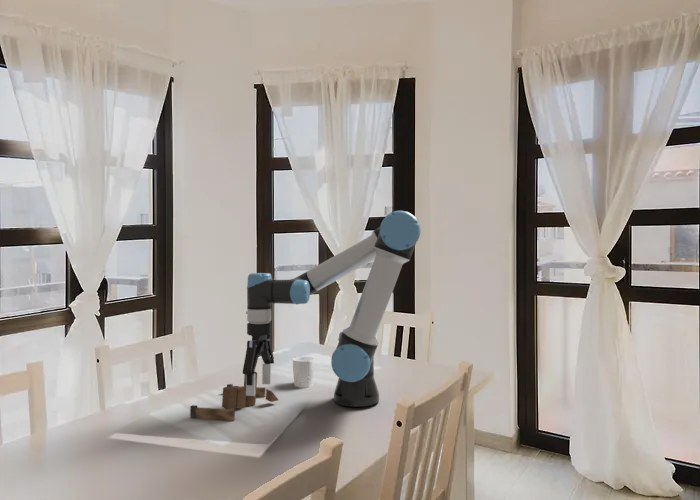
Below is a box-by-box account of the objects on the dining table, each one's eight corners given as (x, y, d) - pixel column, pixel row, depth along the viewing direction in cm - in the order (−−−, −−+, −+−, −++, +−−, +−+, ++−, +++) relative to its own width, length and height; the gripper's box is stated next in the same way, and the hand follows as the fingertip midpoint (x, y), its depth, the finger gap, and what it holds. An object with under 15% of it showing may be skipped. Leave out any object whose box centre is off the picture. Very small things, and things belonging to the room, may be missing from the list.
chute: (265, 396, 176) (265, 385, 176) (233, 421, 150) (233, 409, 150) (228, 394, 179) (228, 384, 179) (190, 418, 153) (190, 406, 153)
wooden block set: (229, 417, 154) (231, 383, 154) (214, 408, 160) (216, 376, 160) (278, 405, 167) (280, 374, 167) (263, 398, 173) (264, 367, 173)
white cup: (288, 388, 187) (288, 360, 187) (299, 382, 194) (298, 356, 194) (308, 390, 184) (308, 362, 184) (317, 384, 191) (317, 357, 191)
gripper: (262, 316, 176) (262, 379, 176) (231, 327, 151) (231, 399, 151) (283, 317, 174) (283, 380, 174) (255, 328, 150) (255, 401, 150)
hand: (259, 389), depth 163 cm, fingers open, 13 cm apart
